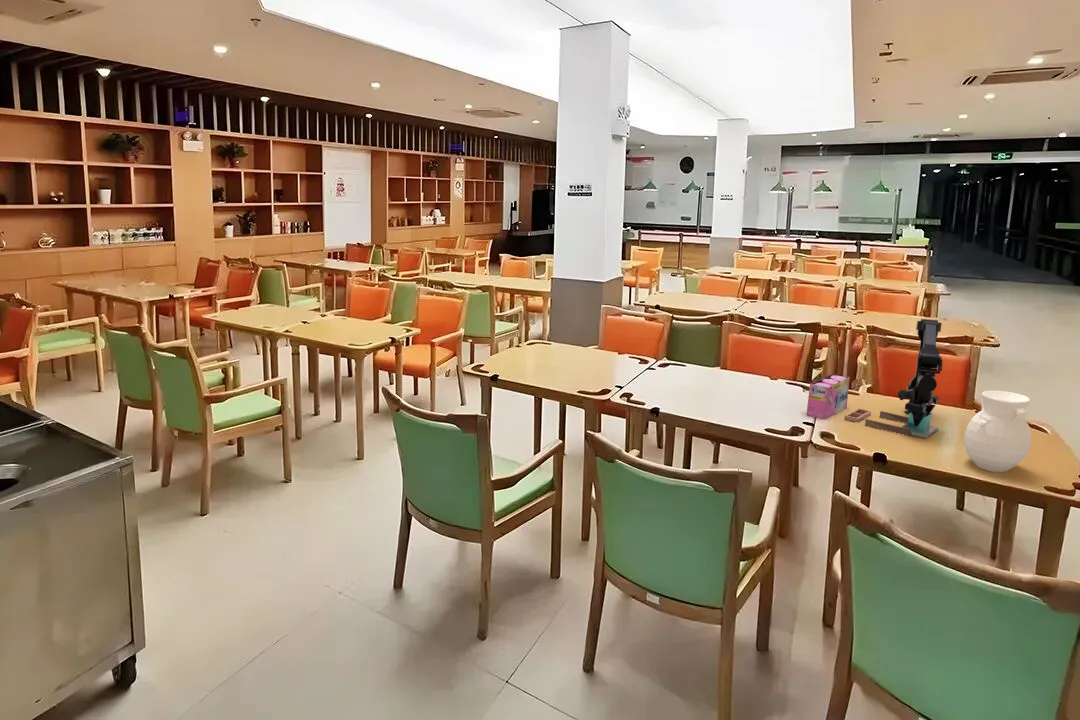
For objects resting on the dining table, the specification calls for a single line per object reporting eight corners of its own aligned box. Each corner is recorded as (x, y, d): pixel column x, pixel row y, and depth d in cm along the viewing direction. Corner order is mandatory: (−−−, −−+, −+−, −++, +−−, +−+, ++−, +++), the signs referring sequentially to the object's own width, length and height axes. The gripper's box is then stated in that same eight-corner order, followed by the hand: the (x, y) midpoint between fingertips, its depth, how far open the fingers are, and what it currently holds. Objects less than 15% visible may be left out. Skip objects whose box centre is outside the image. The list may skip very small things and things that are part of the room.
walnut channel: (880, 416, 285) (881, 411, 284) (922, 426, 274) (923, 420, 273) (864, 425, 274) (865, 419, 273) (908, 436, 263) (909, 429, 262)
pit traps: (858, 412, 290) (858, 408, 289) (870, 415, 286) (871, 411, 286) (844, 419, 280) (844, 415, 280) (856, 422, 277) (857, 418, 276)
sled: (909, 424, 275) (912, 406, 274) (937, 430, 268) (940, 412, 267) (897, 431, 266) (900, 413, 265) (926, 438, 260) (929, 419, 258)
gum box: (829, 403, 302) (833, 372, 299) (848, 407, 297) (852, 376, 294) (805, 415, 286) (809, 383, 282) (824, 419, 280) (828, 387, 277)
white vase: (1039, 477, 226) (1053, 403, 220) (985, 478, 225) (998, 404, 219) (998, 455, 244) (1010, 387, 238) (947, 456, 243) (959, 387, 237)
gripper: (911, 376, 275) (905, 414, 279) (893, 385, 262) (887, 424, 266) (942, 382, 267) (936, 420, 271) (925, 391, 255) (919, 431, 258)
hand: (919, 424), depth 267 cm, fingers closed on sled, 6 cm apart
